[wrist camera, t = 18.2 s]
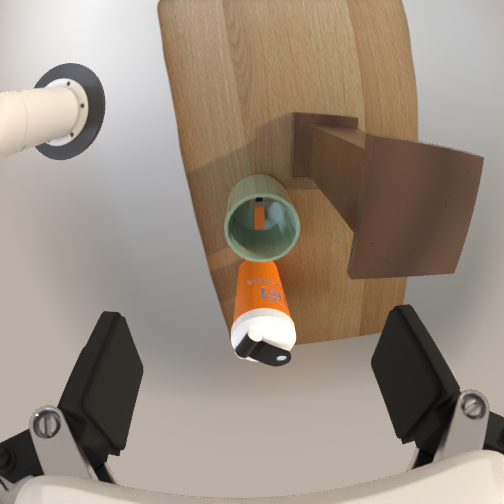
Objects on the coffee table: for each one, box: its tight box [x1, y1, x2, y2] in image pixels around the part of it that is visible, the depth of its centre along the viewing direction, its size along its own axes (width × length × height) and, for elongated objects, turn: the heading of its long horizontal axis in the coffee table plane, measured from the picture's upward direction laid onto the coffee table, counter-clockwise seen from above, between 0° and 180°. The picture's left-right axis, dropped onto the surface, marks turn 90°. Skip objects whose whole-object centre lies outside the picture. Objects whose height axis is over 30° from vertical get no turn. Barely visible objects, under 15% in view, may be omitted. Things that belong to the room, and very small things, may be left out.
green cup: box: [224, 174, 300, 262], centre depth 43 cm, size 10×10×10 cm
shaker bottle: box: [231, 259, 296, 366], centre depth 45 cm, size 9×9×20 cm
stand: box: [291, 112, 484, 279], centre depth 30 cm, size 10×10×29 cm
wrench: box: [249, 197, 270, 229], centre depth 46 cm, size 6×3×3 cm, turn 0°
